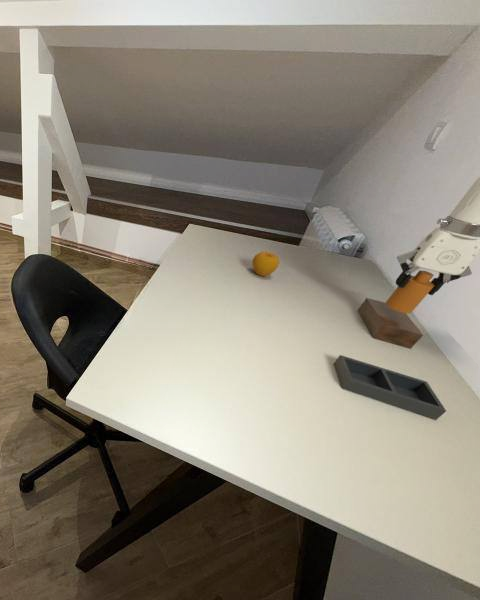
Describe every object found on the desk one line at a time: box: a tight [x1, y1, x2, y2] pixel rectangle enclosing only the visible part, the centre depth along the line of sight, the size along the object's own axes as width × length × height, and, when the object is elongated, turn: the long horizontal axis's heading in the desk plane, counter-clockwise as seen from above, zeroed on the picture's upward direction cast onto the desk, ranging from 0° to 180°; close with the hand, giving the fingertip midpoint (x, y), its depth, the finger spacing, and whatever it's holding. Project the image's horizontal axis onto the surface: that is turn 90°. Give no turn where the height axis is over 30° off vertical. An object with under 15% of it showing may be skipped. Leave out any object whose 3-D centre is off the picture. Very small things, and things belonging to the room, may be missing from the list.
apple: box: [251, 251, 280, 278], centre depth 115 cm, size 9×8×9 cm
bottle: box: [385, 270, 435, 314], centre depth 87 cm, size 6×6×12 cm
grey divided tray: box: [333, 354, 447, 421], centre depth 71 cm, size 9×17×4 cm, turn 66°
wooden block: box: [357, 297, 424, 349], centre depth 93 cm, size 9×16×5 cm, turn 156°
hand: (413, 288), depth 87 cm, fingers closed on bottle, 6 cm apart
